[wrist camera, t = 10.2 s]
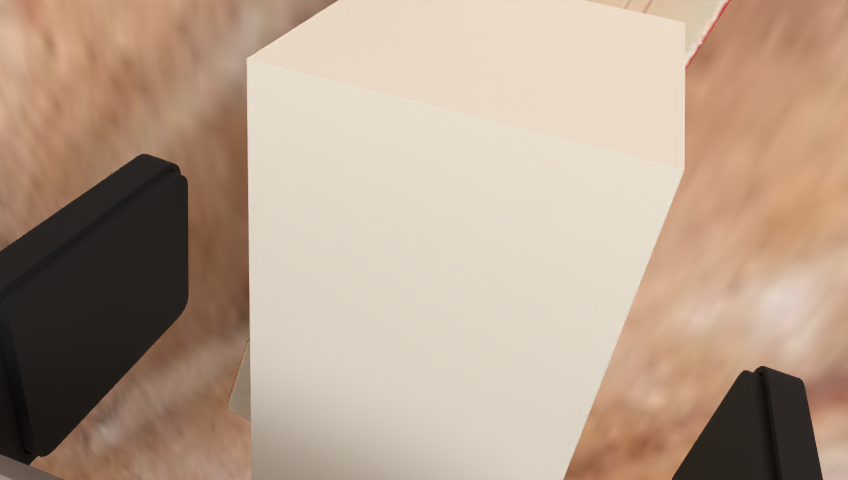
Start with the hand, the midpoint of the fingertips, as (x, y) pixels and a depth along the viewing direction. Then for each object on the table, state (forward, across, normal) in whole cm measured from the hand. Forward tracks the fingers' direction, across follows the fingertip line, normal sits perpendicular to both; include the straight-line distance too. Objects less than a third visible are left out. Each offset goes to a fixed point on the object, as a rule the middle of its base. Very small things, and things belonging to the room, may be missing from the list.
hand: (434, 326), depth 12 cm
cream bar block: (+3, 0, 0) cm, 3 cm away
